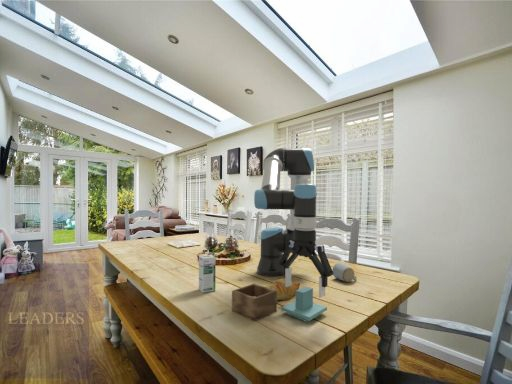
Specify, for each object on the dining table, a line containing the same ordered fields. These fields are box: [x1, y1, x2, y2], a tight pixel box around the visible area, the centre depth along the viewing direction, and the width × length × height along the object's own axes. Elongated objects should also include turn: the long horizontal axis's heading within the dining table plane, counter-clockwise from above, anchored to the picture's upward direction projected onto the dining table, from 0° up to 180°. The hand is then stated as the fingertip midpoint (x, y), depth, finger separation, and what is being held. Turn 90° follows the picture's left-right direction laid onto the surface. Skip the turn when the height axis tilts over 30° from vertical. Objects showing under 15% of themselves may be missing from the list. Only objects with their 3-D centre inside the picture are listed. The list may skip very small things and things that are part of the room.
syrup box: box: [198, 254, 216, 294], centre depth 117 cm, size 6×6×14 cm
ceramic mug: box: [332, 262, 358, 283], centre depth 133 cm, size 11×8×8 cm
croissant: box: [269, 278, 301, 301], centre depth 111 cm, size 21×10×8 cm, turn 134°
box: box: [231, 283, 278, 322], centre depth 96 cm, size 11×11×7 cm
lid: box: [281, 286, 328, 323], centre depth 94 cm, size 11×11×9 cm
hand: (304, 291), depth 94 cm, fingers open, 13 cm apart
